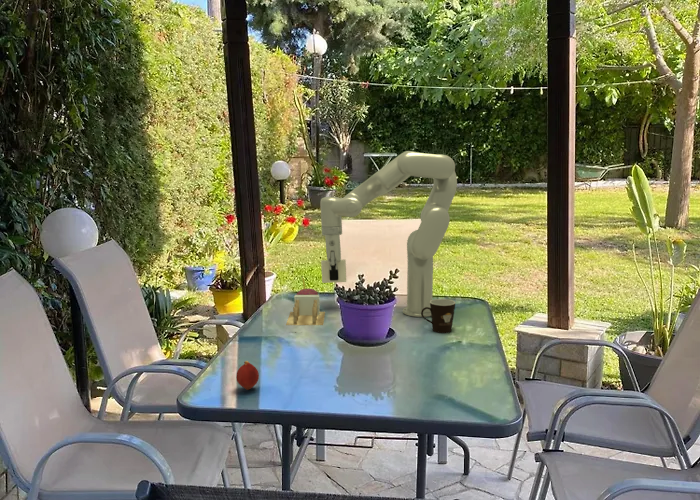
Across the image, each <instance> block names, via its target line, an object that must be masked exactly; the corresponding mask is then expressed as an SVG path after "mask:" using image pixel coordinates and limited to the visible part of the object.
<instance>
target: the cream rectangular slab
mask: <svg viewBox="0 0 700 500" xmlns="http://www.w3.org/2000/svg"><path fill="white" fill-rule="evenodd" d="M335 261H336V260H335ZM346 261H347V260H346V259H341V261H340V262H339V261H337V269H338V280H332V281H331V280H330V274H329V270H330V263H329V262H328V261H327V259H325V260H321V261H320V266H321V283H322V284H326V283H329V284H331V283H347V266H346V265H347V264H346ZM335 264H336V263H335Z"/></svg>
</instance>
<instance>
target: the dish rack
mask: <svg viewBox="0 0 700 500" xmlns="http://www.w3.org/2000/svg"><path fill="white" fill-rule="evenodd" d="M293 304H294V303H293ZM294 305H295V306H294V307H292V311H290V312H289V315H288V318H287V321H286V324H285V326H324V322H325V317H326V311H320V314H319V315H317V300H314V304H313V307H312V315H299V300H296V303H295V304H294Z"/></svg>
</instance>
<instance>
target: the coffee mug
mask: <svg viewBox="0 0 700 500" xmlns="http://www.w3.org/2000/svg"><path fill="white" fill-rule="evenodd" d="M430 307H431V308H429V307H425V308H423V309H422V311H421V315H422V317H421V318H423V319H424V320H425V321H427V322H429V323H430V324H431V325H432V332H434V333H437V334H448V333H451V332H452V329H453V322H454V315H455V308H456V301H454V300H452V299H448V298H447V299H446V298H445V299H444V298H437V299H432V300H431V301H430ZM425 309H429V310H430V311H431V316H430V317H431V320H429V319H428V318H427V317H424V316H423V311H424V310H425Z"/></svg>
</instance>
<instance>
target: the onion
mask: <svg viewBox="0 0 700 500" xmlns="http://www.w3.org/2000/svg"><path fill="white" fill-rule="evenodd" d="M243 363H244V364H242V365H241V366H240V367H239V368H238V370H237V371H236V381H237V383H238V385H239V386H240V387H242V388H244V389H245V390H246V391H247V390H248V391H250V390H251V389H252V388H254V387H255V386H256V385H257V383H258V381H259V370H258V368H257V367H256V366H254V365H253V364H252V363H251V362H249V361H248V360H244V362H243Z"/></svg>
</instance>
